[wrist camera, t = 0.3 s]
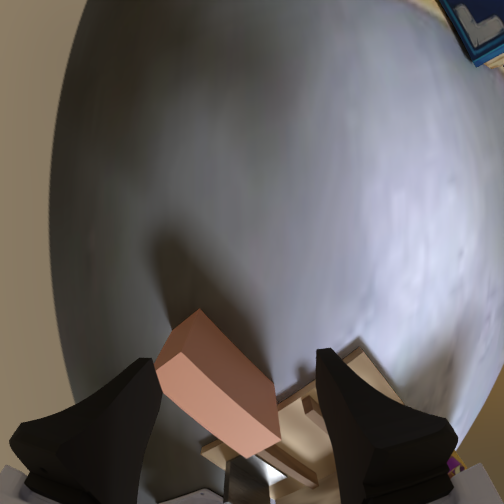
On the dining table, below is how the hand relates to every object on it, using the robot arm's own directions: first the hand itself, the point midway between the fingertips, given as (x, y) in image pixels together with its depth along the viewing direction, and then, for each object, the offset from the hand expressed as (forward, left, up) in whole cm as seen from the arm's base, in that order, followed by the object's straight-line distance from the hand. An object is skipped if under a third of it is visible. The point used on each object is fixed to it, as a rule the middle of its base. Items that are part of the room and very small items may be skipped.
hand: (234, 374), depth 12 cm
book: (+38, +11, -11) cm, 41 cm away
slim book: (-4, -3, -10) cm, 12 cm away
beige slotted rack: (-4, -16, -10) cm, 20 cm away
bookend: (-11, -15, -9) cm, 20 cm away
